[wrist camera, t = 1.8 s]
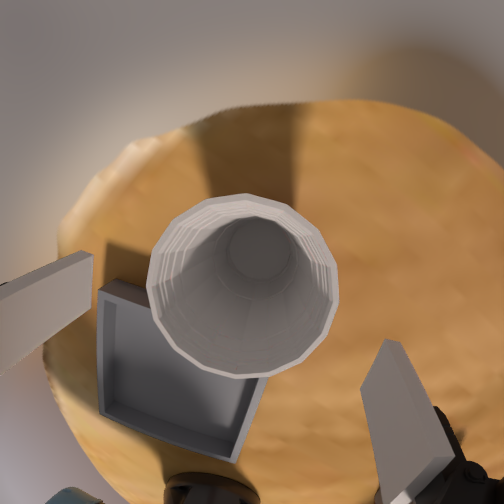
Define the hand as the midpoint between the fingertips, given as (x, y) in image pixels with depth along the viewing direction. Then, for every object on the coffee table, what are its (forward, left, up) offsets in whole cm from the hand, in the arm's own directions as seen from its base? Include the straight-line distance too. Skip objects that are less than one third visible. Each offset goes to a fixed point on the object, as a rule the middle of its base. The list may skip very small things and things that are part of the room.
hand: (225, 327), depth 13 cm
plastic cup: (0, 0, -16) cm, 16 cm away
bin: (-16, +5, -16) cm, 23 cm away
